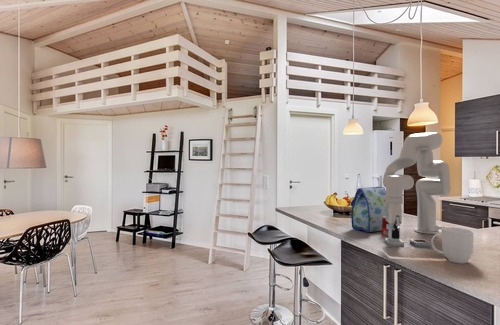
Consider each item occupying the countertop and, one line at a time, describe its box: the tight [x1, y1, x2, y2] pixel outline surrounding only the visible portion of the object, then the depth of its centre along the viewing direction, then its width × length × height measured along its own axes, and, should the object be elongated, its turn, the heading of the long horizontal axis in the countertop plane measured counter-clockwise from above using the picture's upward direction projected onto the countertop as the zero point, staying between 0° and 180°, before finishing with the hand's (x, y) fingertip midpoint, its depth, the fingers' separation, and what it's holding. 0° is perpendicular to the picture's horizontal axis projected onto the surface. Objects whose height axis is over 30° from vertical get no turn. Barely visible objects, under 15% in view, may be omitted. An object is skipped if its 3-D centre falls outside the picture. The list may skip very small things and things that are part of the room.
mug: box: [430, 226, 474, 264], centre depth 127 cm, size 15×11×13 cm
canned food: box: [381, 216, 389, 237], centre depth 167 cm, size 8×8×11 cm
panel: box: [379, 237, 435, 251], centre depth 147 cm, size 22×14×3 cm, turn 81°
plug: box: [387, 223, 401, 241], centre depth 148 cm, size 5×4×9 cm
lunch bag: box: [350, 186, 387, 233], centre depth 184 cm, size 22×17×26 cm
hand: (394, 236), depth 148 cm, fingers closed on plug, 4 cm apart
